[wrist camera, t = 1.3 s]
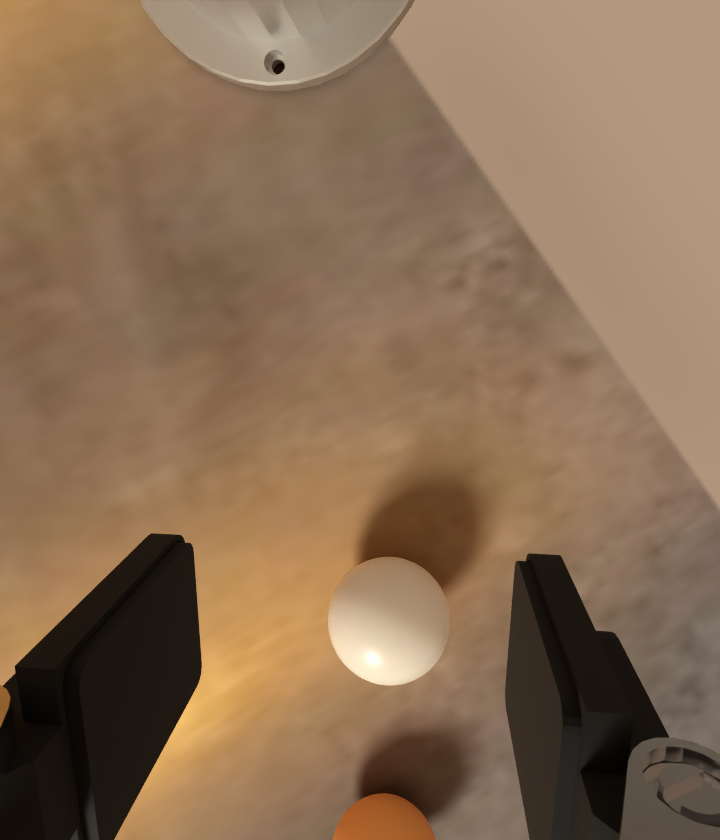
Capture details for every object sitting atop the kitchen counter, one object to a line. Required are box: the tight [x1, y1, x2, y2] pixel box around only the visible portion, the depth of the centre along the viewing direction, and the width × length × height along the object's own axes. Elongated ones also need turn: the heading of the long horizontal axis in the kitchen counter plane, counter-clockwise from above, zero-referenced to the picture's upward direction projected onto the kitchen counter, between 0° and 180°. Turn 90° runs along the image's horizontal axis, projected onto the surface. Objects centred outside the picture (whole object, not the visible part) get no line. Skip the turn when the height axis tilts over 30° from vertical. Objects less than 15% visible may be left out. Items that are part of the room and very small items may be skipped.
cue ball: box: [328, 557, 450, 685], centre depth 27 cm, size 6×6×6 cm
